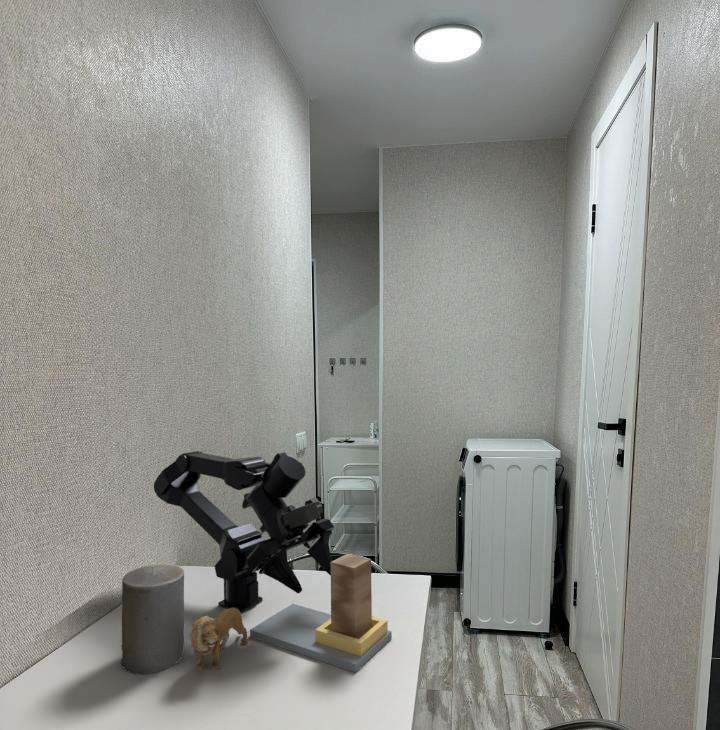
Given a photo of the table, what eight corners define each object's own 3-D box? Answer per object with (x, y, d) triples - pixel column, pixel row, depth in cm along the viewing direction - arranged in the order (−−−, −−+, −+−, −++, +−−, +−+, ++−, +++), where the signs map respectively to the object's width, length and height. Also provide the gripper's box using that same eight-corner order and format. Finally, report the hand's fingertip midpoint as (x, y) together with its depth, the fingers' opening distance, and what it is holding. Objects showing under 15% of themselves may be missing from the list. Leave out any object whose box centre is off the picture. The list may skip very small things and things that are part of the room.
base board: (250, 636, 93) (249, 618, 93) (292, 609, 103) (292, 593, 103) (355, 672, 81) (355, 651, 81) (391, 638, 91) (391, 619, 91)
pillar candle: (107, 667, 83) (107, 573, 84) (152, 637, 93) (152, 552, 93) (155, 680, 80) (155, 582, 80) (197, 648, 89) (197, 560, 89)
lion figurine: (213, 685, 78) (213, 625, 78) (181, 681, 79) (181, 622, 79) (253, 636, 93) (253, 585, 93) (225, 633, 94) (225, 583, 94)
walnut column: (331, 638, 89) (330, 562, 89) (348, 626, 93) (347, 553, 93) (355, 647, 86) (354, 568, 86) (372, 634, 90) (371, 559, 91)
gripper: (258, 496, 90) (307, 575, 83) (326, 477, 105) (372, 543, 99) (227, 534, 94) (272, 611, 88) (297, 511, 109) (339, 575, 103)
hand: (317, 583), depth 94 cm, fingers open, 9 cm apart
